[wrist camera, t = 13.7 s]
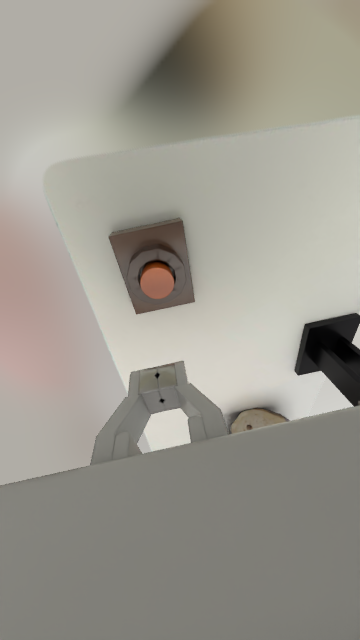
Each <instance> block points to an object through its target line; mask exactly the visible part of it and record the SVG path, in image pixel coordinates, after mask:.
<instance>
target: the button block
mask: <svg viewBox="0 0 360 640" xmlns="http://www.w3.org/2000/svg"><path fill="white" fill-rule="evenodd" d="M109 239H110V242H111V245H112V248H113V251H114V253H115V256H116V259H117V262H118V265H119V267H120V270H121V273H122V276H123V279H124V281H125V284H126V287H127V290H128V293H129V295H130V298H131V301H132V304H133V307H134V309H135V312H136V314H141V313H145V312H150V311H155V310H159V309H164V308H169V307H173V306H178V305H183V304H187V303H192V302H195V299H194V293H193V286H192V280H191V273H190V266H189V260H188V253H187V247H186V240H185V234H184V227H183V221H182V220H181V219H180V218H177V219H173V220H168V221H163V222H159V223H154V224H149V225H145V226H140V227H135V228H131V229H126V230H121V231H117V232H112V233H111V234H110V236H109ZM154 262H160V263H163V264H165V265H167V266H168V267H169V268H170V270H171V271H172V274H173V278H174V288H173V290H172V292H171V293H170V294H169V295H168V296H166V297H164V298H161V299H154V298H150V297H148V296H147V295H146V294H145V293H144V292H143V291H142V289H141V286H140V280H141V273H142V271H143V269H144V268H145V267H146V266H147V265H148V264H150V263H154Z"/></svg>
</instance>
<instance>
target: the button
mask: <svg viewBox="0 0 360 640" xmlns="http://www.w3.org/2000/svg"><path fill="white" fill-rule="evenodd" d="M140 286H141V289H142V291H143V292H144V293H145V294H146V295H147V296H148V297H150V298H154V299H161V298H164V297H166V296H168V295H169V294H170V293H171V292H172V290H173V288H174V278H173V274H172V271H171V270H170V268H169V267H168V266H167V265H165V264H163V263H160V262H154V263H150V264H148V265H147V266H146V267H145V268H144V269H143V271H142V273H141V280H140Z"/></svg>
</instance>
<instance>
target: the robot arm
mask: <svg viewBox="0 0 360 640" xmlns="http://www.w3.org/2000/svg"><path fill="white" fill-rule="evenodd" d="M177 408H181V409H182V410H183V411H184V413H185V414H186V415H187V416H188V417H189V419H188V425H189V432H190V439H191V443H189V444H184V445H180V446H175V447H171V448H166V449H162V450H157V451H153V452H148V453H144V454H142V452H141V451H140V449H139V447H138V446H137V443H138V441H139V438H140V436H141V434H142V432H143V430H144V428H145V426H146V424H147V422H148V420H149V418H150V416H151V415H150V414H154V413H158V412H162V411H166V410H172V409H177ZM0 640H360V405H359V406H355V407H350V408H346V409H342V410H337V411H332V412H328V413H323V414H319V415H315V416H310V417H305V418H301V419H296V420H292V421H287V422H283V423H278V424H274V425H269V426H265V427H260V428H256V429H251V430H247V431H243V432H238V433H234V434H228V431H227V428H226V424H225V421H224V418H223V415H222V412H221V409H220V408H218V407H217V406H216V405H215V404H214V403H213V402H212V401H210V400H209V399H208V398H207V397H206V396H205V395H204V394H202V393H201V392H200V391H199V390H198V389H197V388H195V387H194V386H193V385H192V384H191V383H188V379H187V374H186V370H185V366H184V361H179V362H175V363H170V364H166V365H162V366H158V367H153V368H148V369H143V370H138V371H133V372H131V374H130V382H129V391H128V397H125V399H124V400H123V401H122V403H121V404H120V405H119V407H118V408H117V409H116V411H115V412H114V413H113V415H112V416H111V418H110V419H109V420H108V422H107V423H106V424H105V426H104V427H103V428H102V430H101V431H100V433H99V434H98V435H97V436H96V440H95V445H94V449H93V455H92V459H91V463H90V466H86V467H81V468H77V469H73V470H68V471H63V472H59V473H55V474H50V475H45V476H41V477H36V478H32V479H27V480H23V481H19V482H14V483H9V484H5V485H0Z"/></svg>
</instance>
